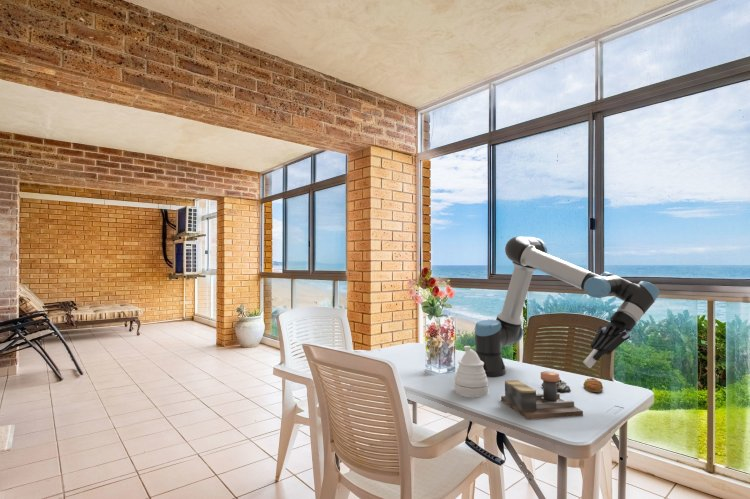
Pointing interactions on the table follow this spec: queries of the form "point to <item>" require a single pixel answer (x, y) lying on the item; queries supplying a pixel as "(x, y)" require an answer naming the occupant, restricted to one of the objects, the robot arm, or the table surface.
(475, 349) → the robot arm
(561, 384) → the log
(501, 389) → the table surface
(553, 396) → the knob
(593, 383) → the pastry
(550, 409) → the brown sliding knob board
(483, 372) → the honey pot
